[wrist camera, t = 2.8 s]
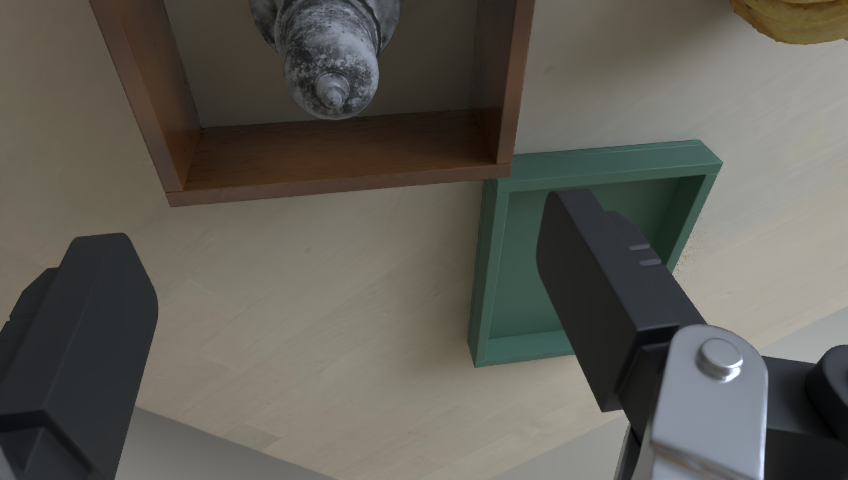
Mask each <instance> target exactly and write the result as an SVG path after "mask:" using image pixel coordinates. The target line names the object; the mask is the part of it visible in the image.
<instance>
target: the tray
mask: <svg viewBox="0 0 848 480" xmlns="http://www.w3.org/2000/svg"><path fill="white" fill-rule="evenodd" d="M722 164H723V162H722V161H721V160H720V159H719V158H718V157H717V156H716V155H715V154H714V153H713V152H712V151H711V150H710V149H709V148H708V147H707V146H706V145H704V144H703V143H702V142H701V141H700V140H689V141H677V142H665V143H653V144H641V145H629V146H617V147H605V148H593V149H581V150H569V151H557V152H545V153H533V154H521V155H513V160H512V168H511V175H510V177H506V178H494V179H484V186H483V196H482V206H481V215H480V225H479V235H478V244H477V254H476V264H475V273H474V283H473V293H472V302H471V312H470V322H469V331H468V341H467V342H468V345H469V349H470V353H471V356H472V360H473V364H474V367H475V368H477V367H484V366H492V365H499V364H507V363H514V362H522V361H529V360H537V359H544V358H552V357H559V356H566V355H574V354H575V353H574V351H573V348H572V346H571V344H570V342H569V340H568V338H567V335H566V333H565V331H564V329H563V327H562V324H561V322H560V320H559V318H558V316H557V314H556V311H555V309H554V307H553V305H552V303H551V300H550V298H549V296H548V294H547V292H546V290H545V287H544V285H543V283H542V281H541V279H540V276H539V273H538V269H537V264H536V246H537V241H538V235H539V230H540V225H541V220H542V215H543V210H544V205H545V200H546V197H547V195H548V193H549V192H551V191H560V190H570V189H580V188H588V189H589V190H591V191H592V193H593V194H594V196H595V197H596V199H597V200H598V202H599V203H600V205H601V206H602V208H603V209H604V210H605V211H612V210H615V211H617V212H618V213H619V214H621V215H622V216H624V217H625V218H626V219H628V220H629V221H631V222H632V223H633V224H635V225H636V226H637V227H638V229H639V230H640V231H641V233H642V234H643V236H644V237H645V238H646V240H647V241H648V242H649V244H650V248H653V249H654V251H655V252H656V254H657V255H658V256H659V258H660V259H661V264H664V265H665V266H666V267H667V269H668V270H669V272H670V273H671V274H672V272H673V270H674V268H675V266H676V264H677V262H678V259H679V257H680V255H681V253H682V251H683V249H684V246H685V244H686V242H687V240H688V238H689V236H690V233H691V231H692V229H693V227H694V225H695V223H696V220H697V218H698V216H699V214H700V212H701V209H702V207H703V205H704V203H705V201H706V199H707V196H708V194H709V192H710V190H711V188H712V186H713V183H714V181H715V179H716V177H717V175H718V174H717V173H719V171H720V168H721V166H722Z"/></svg>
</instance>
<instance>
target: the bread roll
mask: <svg viewBox="0 0 848 480" xmlns="http://www.w3.org/2000/svg"><path fill="white" fill-rule="evenodd" d="M730 2H731V4H732V5H733V7H734V12H735V13H736V14H738V15H739V16H741V17H742V18H743V19H744V20H745V21H747V22H748V23H749V24H751V25H752V27H753V28H755V29H757V31H758V32H760V33H762V34H765V35H766V36H768V37H770V38H773V39H775V41H776V42H784V43H788V44H802V45H807V44H816V43H822V42H829V41H834V40H838V39H842V38H843V39H845V40H848V0H730Z"/></svg>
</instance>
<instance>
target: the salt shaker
mask: <svg viewBox="0 0 848 480" xmlns="http://www.w3.org/2000/svg"><path fill="white" fill-rule="evenodd" d="M401 1H402V0H249V6H250V9H251V12H252V15H253V18H254V22H255V24H256V26H257V27H258V29H259V31H260V32H261V34H262V36H263V37H264V39H265V41H266V42H267V43H268V44H269V45H270V46H271V47H272V48H273V49H274V50H275V51H276V52H277V53H278V54H279V55H280V57H281V58H282V60H283V70H284V78H285V82H286V85H287V88H288V90H289V92H290V94H291V95H292V97H293V99H294V100H295V102H296V103H297V104H299V105H300V106H301V107H302V108H303V109H304V110H305V111H307V112H309V113H310V114H312V115H314V116H317V117H320V118H323V119H329V120H340V119H347V118H350V117H352V116H354V115H357V114H358V113H360V112H361V111H362V110H364V109H365V108H366V107H367V106H368V104H369V103H370V102H371V100H372V99H373V97H374V94H375V92H376V89H377V86H378V79H379V70H378V64H377V61H378V59H379V56H380V53H381V52H382V50H383V49H384V48H385V46H386V45H387V44H388V42H389V41H390V40H391V38H392V36H393V34H394V31H395V29H396V26H397V24H398V21H399V17H400V9H401Z"/></svg>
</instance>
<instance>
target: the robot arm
mask: <svg viewBox="0 0 848 480" xmlns="http://www.w3.org/2000/svg"><path fill="white" fill-rule="evenodd" d="M536 264H537V269H538V273H539V276H540V279H541V281H542V283H543V285H544V287H545V290H546V292H547V294H548V296H549V298H550V300H551V303H552V305H553V307H554V309H555V311H556V314H557V316H558V318H559V320H560V322H561V324H562V327H563V329H564V331H565V333H566V335H567V338H568V340H569V342H570V344H571V346H572V348H573V351H574V353H575V355H576V357H577V359H578V362H579V364H580V366H581V368H582V370H583V373H584V375H585V377H586V379H587V381H588V383H589V386H590V388H591V390H592V392H593V394H594V397H595V399H596V401H597V403H598V405H599V407H600V410H601V412H609V411H615V410H622V409H623V410H624V412H625V414H626V416H627V418H628V420H629V422H630V423H629V425H628V427H627V430H626V433H625V436H624V440H623V444H622V448H621V452H620V456H619V460H618V463H617V467H616V471H615V475H614V479H613V480H848V345H839V346H835V347H833V348H831V349H829V350H828V351H827V352H826V353H825V354H824V355H823V356H822V358H821V359H820V360H819V361H818V362H817V364H814V363H807V362H800V361H793V360H786V359H780V358H773V357H766V356H761V355H760V354H759V353H758V351H757V350H756V349H755V348H754V347H753V346H752V345H751V344H749V343H748V342H747V341H746V340H744V339H743V338H741V337H740V336H738V335H737V334H735V333H733V332H731V331H728V330H726V329H724V328H720V327H717V326H713V325H708V324H707V323H706V321H705V320H704V319H703V317H702V316H701V315H700V313H699V312H698V310H697V309H696V308H695V306H694V305H693V303H692V302H691V301H690V299H689V298H688V297H687V295H686V294H685V292H684V291H683V290H682V288H681V287H680V285H679V284H678V283H677V281H676V280H675V279H674V277H673V276H672V274H671V273H670V272H669V270H668V269H667V267H666V266H665V265H664V264H661V259H660V258H659V256H658V255H657V254H656V252H655V251H654V249H653V248H650V244H649V242H648V241H647V240H646V238H645V237H644V236H643V234H642V233H641V231H640V230H639V229H638V227H637V226H636V225H635V224H633V223H632V222H631V221H629V220H628V219H626V218H625V217H624V216H622V215H621V214H619V213H618V212H617V211H615V210H612V211H605V210H604V209H603V208H602V206H601V205H600V203H599V202H598V200H597V199H596V197H595V196H594V194H593V193H592V191H591V190H589V189H588V188H580V189H570V190H560V191H551V192H549V193H548V195H547V197H546V200H545V205H544V210H543V215H542V220H541V225H540V230H539V235H538V241H537V246H536ZM9 317H10V321H6V323H5V325H4V327H3V329H2V330H1V332H0V480H114V479H115V475H116V471H117V468H118V464H119V460H120V457H121V453H122V449H123V445H124V442H125V438H126V435H127V431H128V427H129V424H130V420H131V416H132V413H133V409H134V405H135V402H136V398H137V394H138V391H139V387H140V383H141V380H142V376H143V372H144V368H145V365H146V361H147V357H148V354H149V350H150V346H151V343H152V339H153V335H154V332H155V328H156V324H157V320H158V300H157V295H156V292H155V289H154V287H153V285H152V283H151V281H150V279H149V277H148V275H147V273H146V271H145V269H144V267H143V265H142V263H141V261H140V258H139V256H138V254H137V252H136V250H135V248H134V246H133V244H132V242H131V240H130V239H129V237H128V236H127V235H126V234H124V233H111V234H101V235H91V236H81V237H76V238H74V239H73V241H72V242H71V244H70V246H69V248H68V250H67V252H66V254H65V256H64V258H63V260H62V262H61V264H60V266H59V267H56V268H47V269H46V270H45V271H44V272H43V273H42V274H41V275H40V276H39V277H38V278H36V279H35V280H34V281H33V282H32V283H31V284H30V285H29V286H28V287H27V288H26V289H25V290H24V291H23V292H22V294H21V296H20V297H19V299H18V301H17V303H16V305H15V307H14V308H13V310H12V312H11V314H10V316H9Z"/></svg>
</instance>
